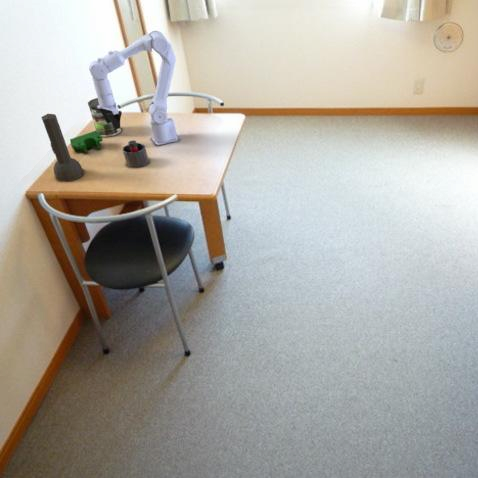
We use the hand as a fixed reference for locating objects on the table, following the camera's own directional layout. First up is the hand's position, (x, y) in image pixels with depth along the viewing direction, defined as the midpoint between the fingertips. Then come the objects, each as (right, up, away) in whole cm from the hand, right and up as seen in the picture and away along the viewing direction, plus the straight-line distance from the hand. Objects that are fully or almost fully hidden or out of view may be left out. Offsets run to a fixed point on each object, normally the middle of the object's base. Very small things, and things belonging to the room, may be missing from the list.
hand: (113, 125), depth 199 cm
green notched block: (-13, -9, +6) cm, 16 cm away
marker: (+11, -15, -3) cm, 19 cm away
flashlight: (-12, -22, -11) cm, 27 cm away
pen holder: (+11, -16, -3) cm, 19 cm away
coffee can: (-10, +1, +19) cm, 22 cm away
